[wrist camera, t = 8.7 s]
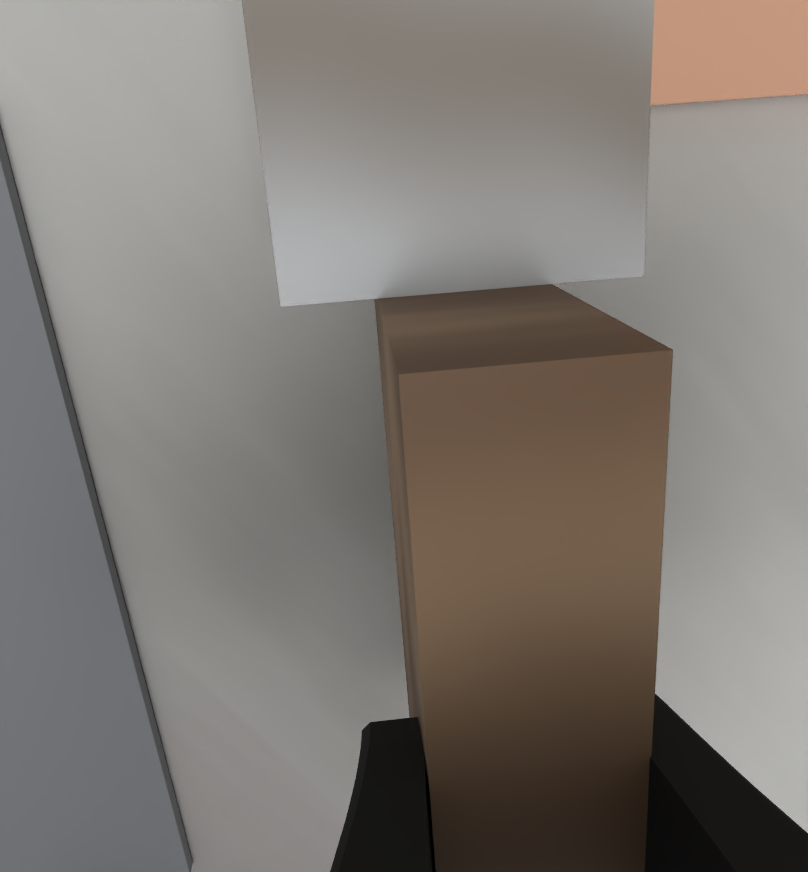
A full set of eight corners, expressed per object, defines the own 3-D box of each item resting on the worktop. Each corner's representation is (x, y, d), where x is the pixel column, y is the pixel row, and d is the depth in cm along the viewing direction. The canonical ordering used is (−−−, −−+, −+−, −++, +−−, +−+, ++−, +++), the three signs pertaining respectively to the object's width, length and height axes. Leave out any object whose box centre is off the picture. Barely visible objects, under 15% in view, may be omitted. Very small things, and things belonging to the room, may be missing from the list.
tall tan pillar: (603, 861, 15) (718, 1166, 11) (359, 892, 15) (367, 1218, 10) (627, -75, 10) (892, -298, 5) (242, -52, 10) (148, -266, 5)
